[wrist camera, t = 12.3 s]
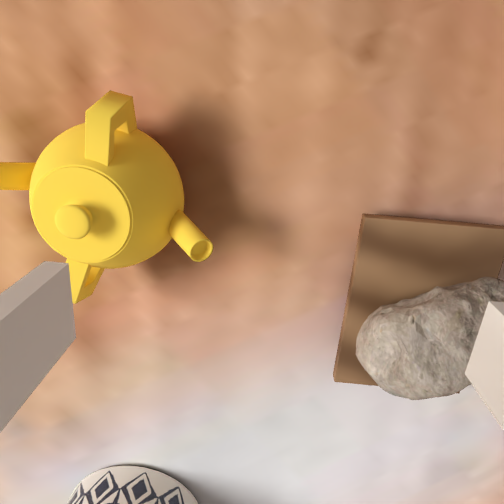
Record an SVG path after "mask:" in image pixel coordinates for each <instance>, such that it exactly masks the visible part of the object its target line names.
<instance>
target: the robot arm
mask: <svg viewBox="0 0 504 504" xmlns="http://www.w3.org/2000/svg"><path fill="white" fill-rule="evenodd" d="M75 338H76V333H75V323H74V313H73V303H72V293H71V283H70V273H69V263H59V262H48V261H44V262H43V263H41V264H40V265H39V266H37V267H36V268H35V269H33V270H32V271H31V272H29V273H28V274H27V275H25V276H24V277H23V278H21V279H20V280H19V281H17V282H16V283H15V284H13V285H12V286H11V287H9V288H8V289H7V290H5V291H4V292H2V293H1V294H0V432H1V431H2V430H3V429H4V427H5V426H6V425H7V424H8V422H9V421H10V420H11V419H12V417H13V416H14V415H15V414H16V412H17V411H18V410H19V409H20V407H21V406H22V405H23V404H24V402H25V401H26V400H27V399H28V397H29V396H30V395H31V394H32V392H33V391H34V390H35V389H36V387H37V386H38V385H39V384H40V382H41V381H42V380H43V378H44V377H45V376H46V375H47V373H48V372H49V371H50V370H51V368H52V367H53V366H54V365H55V363H56V362H57V361H58V360H59V358H60V357H61V356H62V355H63V353H64V352H65V351H66V350H67V348H68V347H69V346H70V345H71V343H72V342H73V341H74V340H75ZM465 375H466V376H467V378H468V379H469V381H470V382H471V384H472V385H473V387H474V388H475V390H476V391H477V393H478V394H479V396H480V397H481V399H482V400H483V402H484V403H485V405H486V406H487V407H488V409H489V410H490V412H491V413H492V415H493V416H494V418H495V419H496V421H497V422H498V424H499V425H500V427H501V428H502V430H503V431H504V302H494V301H489V302H488V305H487V308H486V311H485V314H484V317H483V320H482V323H481V326H480V329H479V332H478V335H477V338H476V341H475V344H474V347H473V350H472V353H471V356H470V359H469V362H468V365H467V368H466V371H465Z"/></svg>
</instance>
